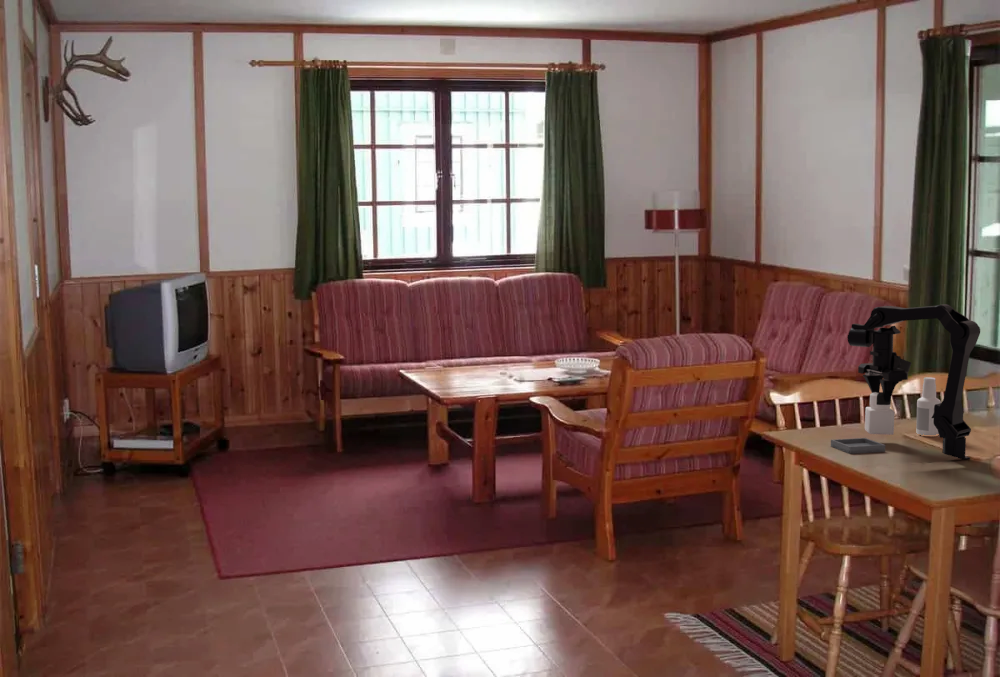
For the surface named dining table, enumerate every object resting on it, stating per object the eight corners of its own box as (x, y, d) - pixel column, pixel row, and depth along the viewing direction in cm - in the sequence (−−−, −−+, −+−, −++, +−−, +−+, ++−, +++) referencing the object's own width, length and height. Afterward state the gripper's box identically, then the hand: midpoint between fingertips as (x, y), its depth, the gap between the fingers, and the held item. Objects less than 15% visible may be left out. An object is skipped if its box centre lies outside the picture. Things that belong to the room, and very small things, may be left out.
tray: (885, 451, 344) (885, 444, 344) (849, 453, 341) (849, 446, 341) (865, 444, 355) (865, 437, 354) (830, 446, 352) (830, 439, 352)
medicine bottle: (888, 430, 360) (890, 391, 358) (893, 434, 352) (895, 394, 351) (864, 430, 360) (866, 390, 359) (869, 434, 353) (870, 394, 352)
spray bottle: (919, 433, 372) (921, 375, 370) (942, 435, 368) (944, 377, 366) (913, 436, 366) (915, 378, 365) (936, 438, 363) (938, 380, 361)
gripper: (924, 350, 346) (923, 403, 348) (891, 344, 365) (889, 394, 366) (890, 352, 344) (888, 405, 346) (857, 345, 362) (856, 396, 364)
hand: (881, 400), depth 355 cm, fingers closed on medicine bottle, 6 cm apart
